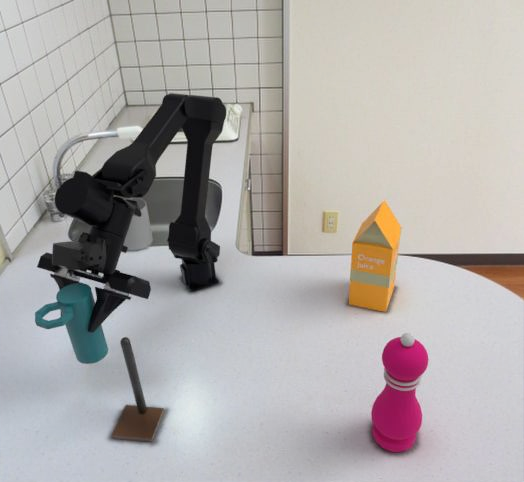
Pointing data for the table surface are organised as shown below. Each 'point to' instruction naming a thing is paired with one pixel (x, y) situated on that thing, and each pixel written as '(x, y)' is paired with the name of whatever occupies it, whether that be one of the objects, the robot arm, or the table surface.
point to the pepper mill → (399, 394)
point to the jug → (76, 322)
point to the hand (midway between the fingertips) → (76, 327)
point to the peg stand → (136, 417)
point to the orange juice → (375, 260)
